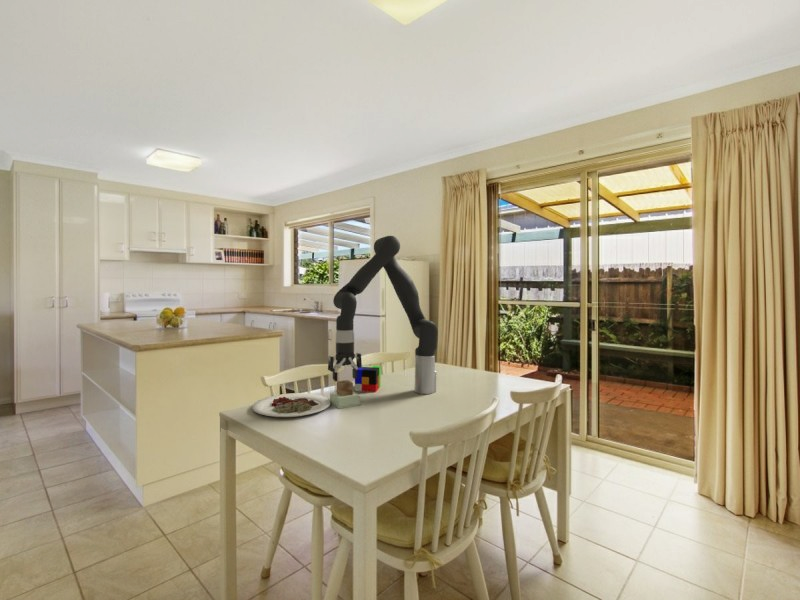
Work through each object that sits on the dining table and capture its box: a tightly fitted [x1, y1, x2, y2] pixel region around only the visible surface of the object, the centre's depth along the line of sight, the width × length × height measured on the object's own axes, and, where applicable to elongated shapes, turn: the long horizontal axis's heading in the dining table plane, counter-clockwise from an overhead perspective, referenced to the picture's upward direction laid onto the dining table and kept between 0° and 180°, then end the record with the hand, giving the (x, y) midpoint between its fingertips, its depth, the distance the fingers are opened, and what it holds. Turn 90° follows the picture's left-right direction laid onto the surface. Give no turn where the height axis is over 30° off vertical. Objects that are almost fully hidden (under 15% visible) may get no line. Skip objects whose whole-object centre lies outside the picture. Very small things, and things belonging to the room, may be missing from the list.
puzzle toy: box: [354, 364, 382, 393], centre depth 193 cm, size 10×10×10 cm
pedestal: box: [329, 391, 362, 410], centre depth 169 cm, size 10×10×4 cm
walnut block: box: [336, 379, 354, 396], centre depth 169 cm, size 5×5×5 cm
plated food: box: [252, 392, 331, 418], centre depth 163 cm, size 30×30×3 cm
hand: (345, 379), depth 169 cm, fingers open, 8 cm apart
